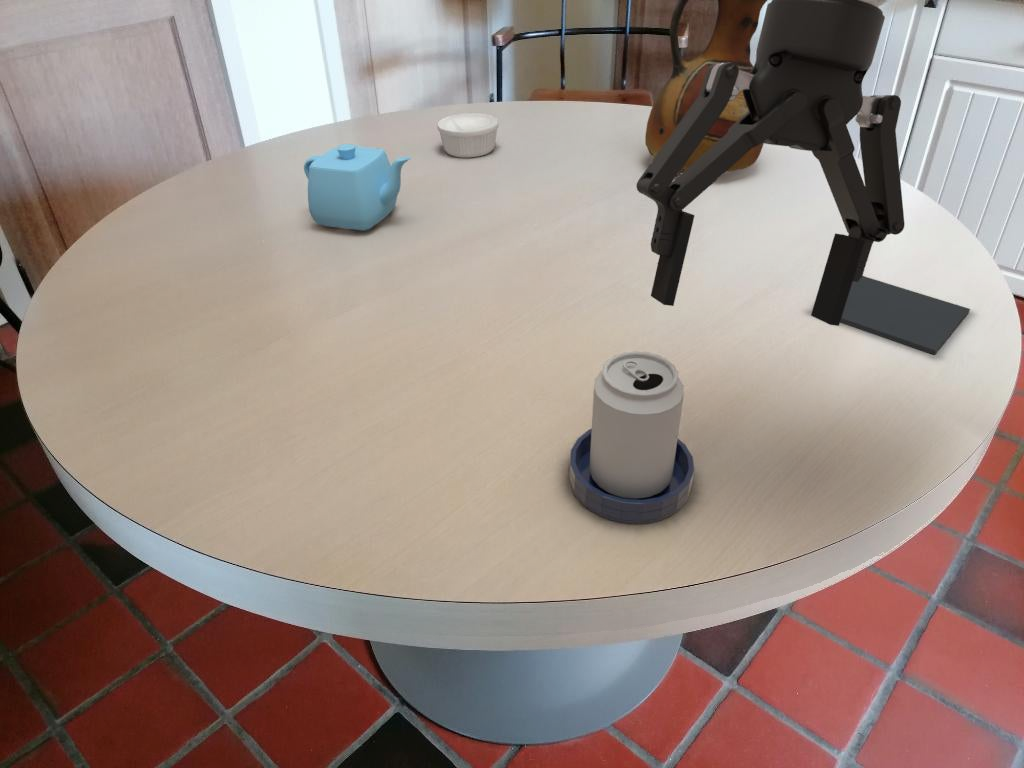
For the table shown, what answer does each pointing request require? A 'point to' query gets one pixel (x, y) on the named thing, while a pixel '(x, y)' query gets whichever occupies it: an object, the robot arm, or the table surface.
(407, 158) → the teapot
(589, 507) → the dish
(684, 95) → the ceramic pitcher
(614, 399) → the can
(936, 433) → the table surface
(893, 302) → the mat
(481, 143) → the ramekin
